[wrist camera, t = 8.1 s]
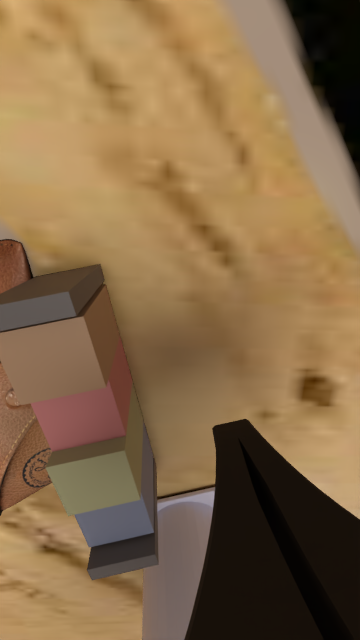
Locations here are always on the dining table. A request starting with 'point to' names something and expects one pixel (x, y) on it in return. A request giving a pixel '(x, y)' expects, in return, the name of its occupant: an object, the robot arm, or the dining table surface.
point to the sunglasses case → (18, 408)
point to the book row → (85, 412)
